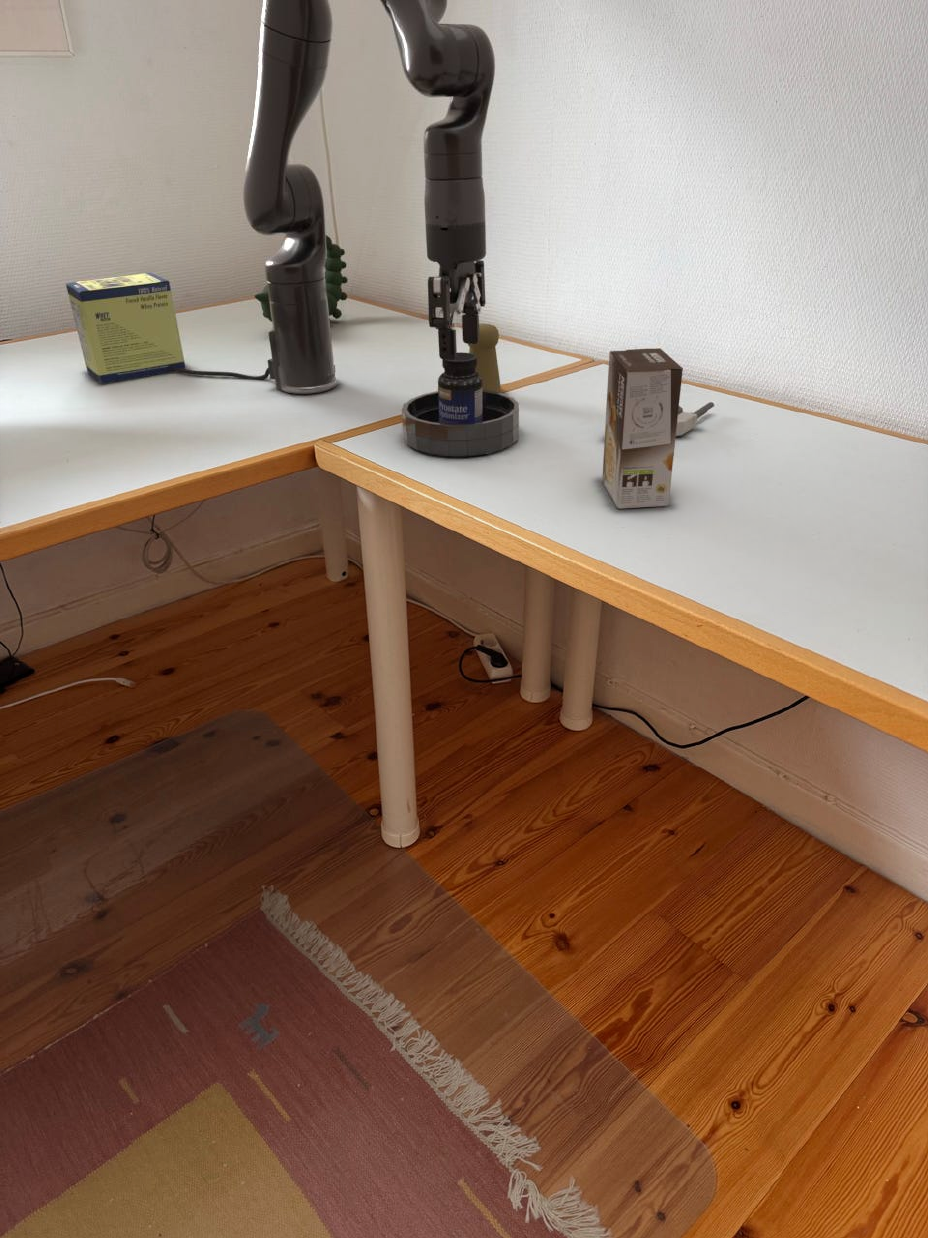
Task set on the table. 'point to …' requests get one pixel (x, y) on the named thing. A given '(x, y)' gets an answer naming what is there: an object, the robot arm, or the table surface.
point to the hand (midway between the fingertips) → (459, 350)
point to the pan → (461, 427)
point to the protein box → (126, 326)
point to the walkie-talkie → (690, 418)
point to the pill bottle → (460, 391)
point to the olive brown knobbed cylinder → (487, 357)
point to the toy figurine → (331, 279)
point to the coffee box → (640, 426)
